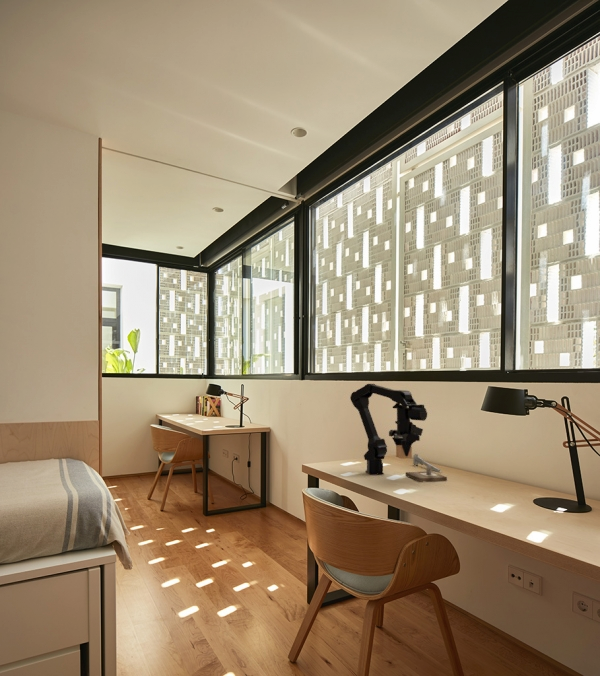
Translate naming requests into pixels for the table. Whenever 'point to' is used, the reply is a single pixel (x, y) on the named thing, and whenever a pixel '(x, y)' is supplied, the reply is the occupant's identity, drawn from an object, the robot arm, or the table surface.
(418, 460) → the caliper
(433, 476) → the post board
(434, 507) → the table surface
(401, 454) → the light brown cube
